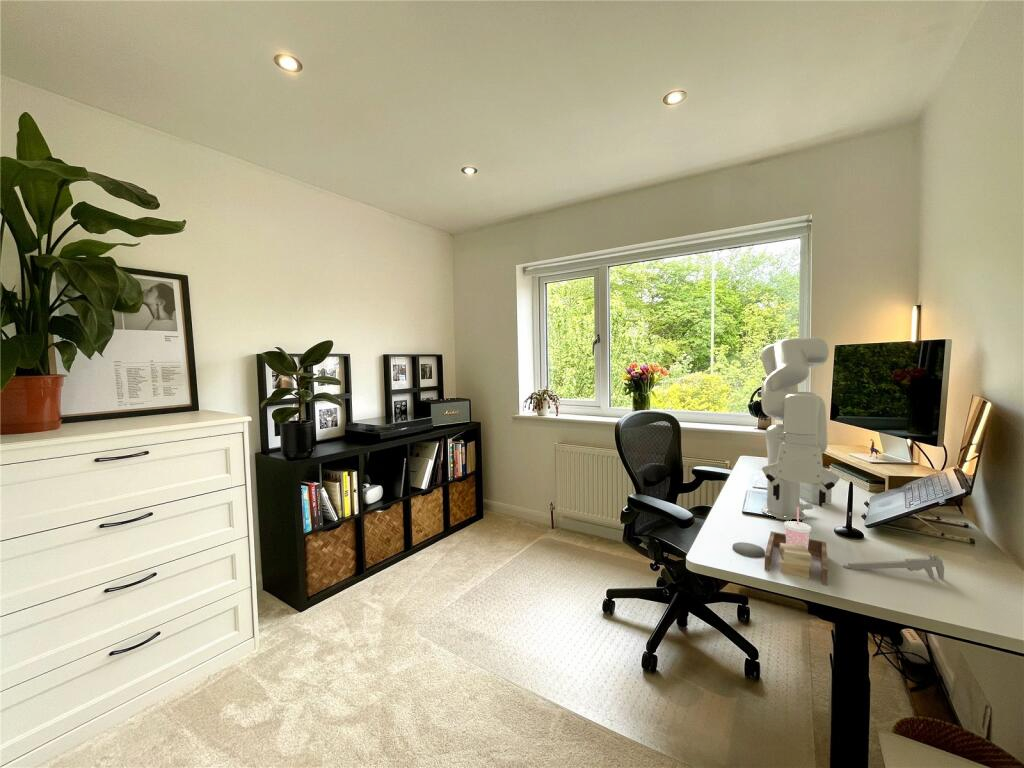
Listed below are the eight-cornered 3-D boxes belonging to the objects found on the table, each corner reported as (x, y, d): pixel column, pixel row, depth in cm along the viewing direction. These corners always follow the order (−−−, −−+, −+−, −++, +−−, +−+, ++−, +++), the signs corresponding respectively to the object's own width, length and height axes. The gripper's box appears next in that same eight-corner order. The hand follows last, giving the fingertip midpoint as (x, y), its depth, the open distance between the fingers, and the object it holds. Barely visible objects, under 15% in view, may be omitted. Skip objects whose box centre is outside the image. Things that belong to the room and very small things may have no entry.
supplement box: (832, 504, 156) (833, 470, 155) (812, 504, 156) (812, 470, 155) (817, 497, 163) (818, 465, 162) (798, 497, 163) (799, 465, 162)
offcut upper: (779, 553, 111) (779, 542, 111) (804, 557, 109) (804, 545, 109) (784, 563, 106) (785, 551, 106) (811, 567, 104) (811, 555, 104)
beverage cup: (798, 563, 111) (799, 512, 110) (778, 553, 117) (779, 504, 116) (815, 560, 113) (817, 509, 112) (795, 550, 119) (796, 502, 118)
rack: (770, 544, 123) (770, 531, 122) (825, 556, 115) (826, 542, 115) (764, 569, 108) (764, 554, 108) (827, 585, 100) (827, 569, 100)
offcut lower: (782, 564, 112) (782, 553, 111) (809, 570, 108) (809, 559, 108) (780, 573, 107) (780, 562, 107) (809, 580, 103) (809, 568, 103)
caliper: (940, 578, 103) (942, 554, 103) (943, 581, 102) (945, 556, 102) (842, 567, 110) (843, 543, 109) (844, 569, 108) (845, 545, 108)
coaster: (752, 543, 123) (752, 541, 123) (771, 556, 115) (771, 554, 115) (726, 544, 123) (726, 542, 123) (743, 557, 115) (743, 555, 115)
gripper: (761, 438, 115) (760, 499, 115) (841, 445, 105) (839, 512, 105) (764, 434, 121) (762, 493, 121) (839, 440, 111) (838, 504, 111)
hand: (798, 502), depth 113 cm, fingers open, 9 cm apart
